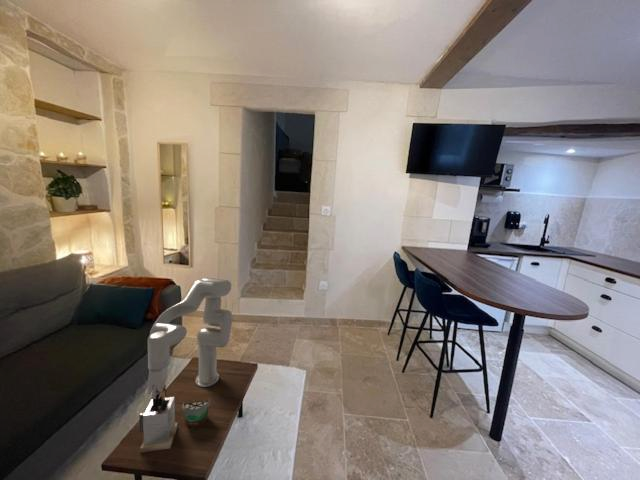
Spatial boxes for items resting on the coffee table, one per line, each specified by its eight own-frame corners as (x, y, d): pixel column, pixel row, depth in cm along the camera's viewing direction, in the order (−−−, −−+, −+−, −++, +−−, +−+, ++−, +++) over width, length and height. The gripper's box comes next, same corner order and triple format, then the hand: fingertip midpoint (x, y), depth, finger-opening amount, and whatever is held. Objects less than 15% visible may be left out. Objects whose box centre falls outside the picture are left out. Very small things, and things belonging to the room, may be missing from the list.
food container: (179, 432, 117) (179, 412, 115) (182, 420, 123) (182, 401, 121) (208, 427, 120) (209, 408, 119) (210, 416, 126) (210, 398, 124)
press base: (150, 429, 117) (150, 425, 117) (177, 426, 120) (177, 422, 119) (140, 452, 106) (140, 448, 106) (170, 448, 109) (170, 444, 109)
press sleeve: (145, 427, 115) (144, 399, 113) (174, 424, 118) (174, 396, 116) (135, 446, 107) (135, 416, 104) (168, 442, 109) (167, 413, 107)
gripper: (156, 351, 115) (156, 388, 117) (139, 376, 99) (141, 418, 101) (175, 350, 117) (175, 386, 119) (162, 374, 100) (162, 416, 103)
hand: (159, 401), depth 110 cm, fingers closed on plunger, 4 cm apart
